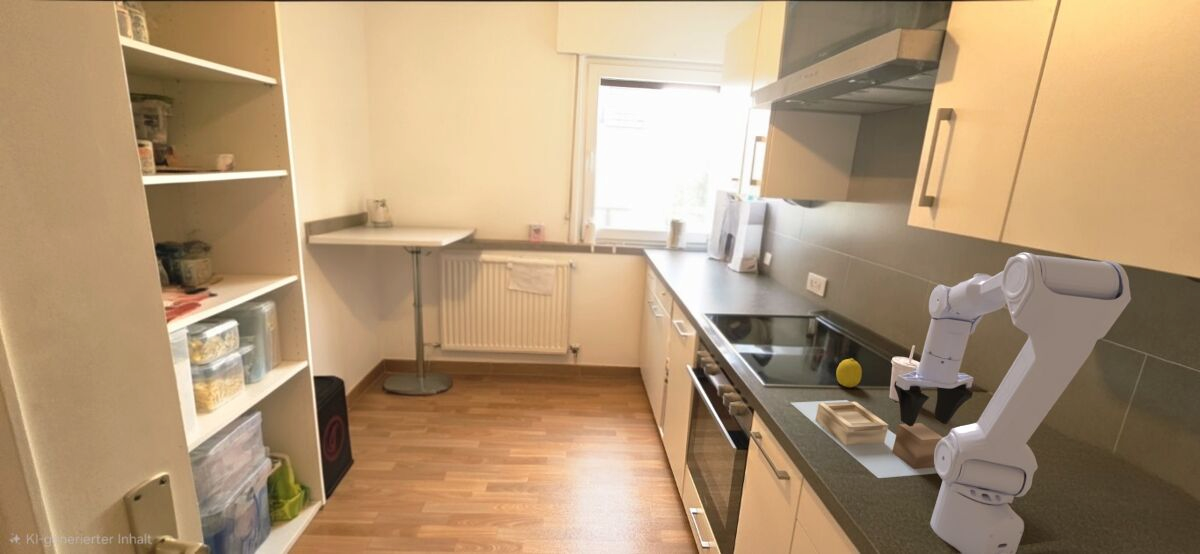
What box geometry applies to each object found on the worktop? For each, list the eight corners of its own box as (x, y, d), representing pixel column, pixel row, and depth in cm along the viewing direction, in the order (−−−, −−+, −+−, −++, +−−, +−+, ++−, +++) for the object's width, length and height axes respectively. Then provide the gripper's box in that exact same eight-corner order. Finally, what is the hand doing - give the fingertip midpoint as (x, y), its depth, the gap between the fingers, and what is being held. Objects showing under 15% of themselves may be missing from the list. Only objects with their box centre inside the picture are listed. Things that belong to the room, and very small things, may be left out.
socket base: (884, 442, 93) (888, 424, 92) (845, 445, 91) (849, 427, 90) (851, 418, 102) (855, 401, 101) (815, 420, 100) (818, 403, 99)
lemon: (861, 395, 115) (868, 364, 113) (836, 391, 116) (843, 361, 114) (853, 385, 120) (860, 356, 118) (830, 381, 121) (837, 352, 119)
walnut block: (936, 467, 87) (944, 438, 85) (913, 469, 86) (921, 439, 84) (913, 450, 91) (921, 423, 90) (891, 452, 90) (899, 424, 89)
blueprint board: (947, 475, 86) (948, 472, 86) (877, 482, 82) (878, 478, 82) (846, 403, 110) (847, 400, 110) (789, 405, 107) (790, 402, 107)
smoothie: (897, 405, 111) (911, 350, 108) (877, 392, 117) (889, 339, 114) (920, 404, 112) (935, 350, 109) (898, 391, 118) (912, 339, 115)
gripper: (954, 344, 89) (936, 409, 92) (890, 345, 85) (873, 412, 89) (992, 360, 82) (971, 429, 85) (923, 361, 79) (904, 433, 82)
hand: (923, 422), depth 87 cm, fingers open, 7 cm apart
